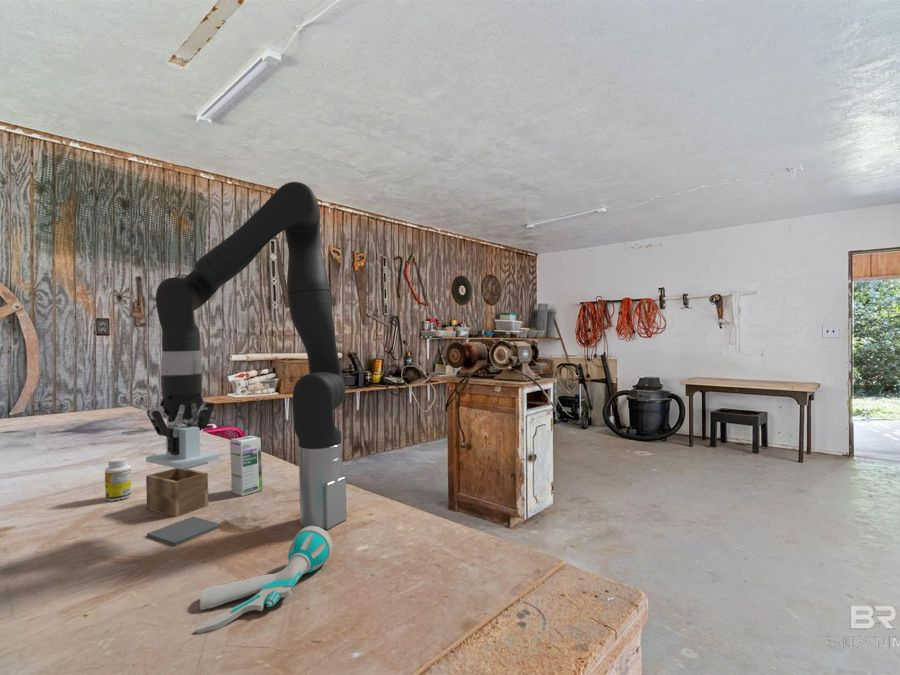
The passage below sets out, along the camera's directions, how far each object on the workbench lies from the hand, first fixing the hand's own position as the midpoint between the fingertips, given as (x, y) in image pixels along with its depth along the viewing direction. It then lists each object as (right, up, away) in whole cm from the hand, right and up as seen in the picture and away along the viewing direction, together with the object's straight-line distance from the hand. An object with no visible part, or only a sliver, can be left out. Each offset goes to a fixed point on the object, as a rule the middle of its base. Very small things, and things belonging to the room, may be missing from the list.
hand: (183, 452), depth 97 cm
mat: (0, -17, 0) cm, 17 cm away
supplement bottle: (-30, -18, +22) cm, 41 cm away
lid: (0, -3, 0) cm, 3 cm away
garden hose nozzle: (+28, -17, -23) cm, 40 cm away
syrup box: (+2, -17, +25) cm, 30 cm away
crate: (-10, -17, +15) cm, 25 cm away
